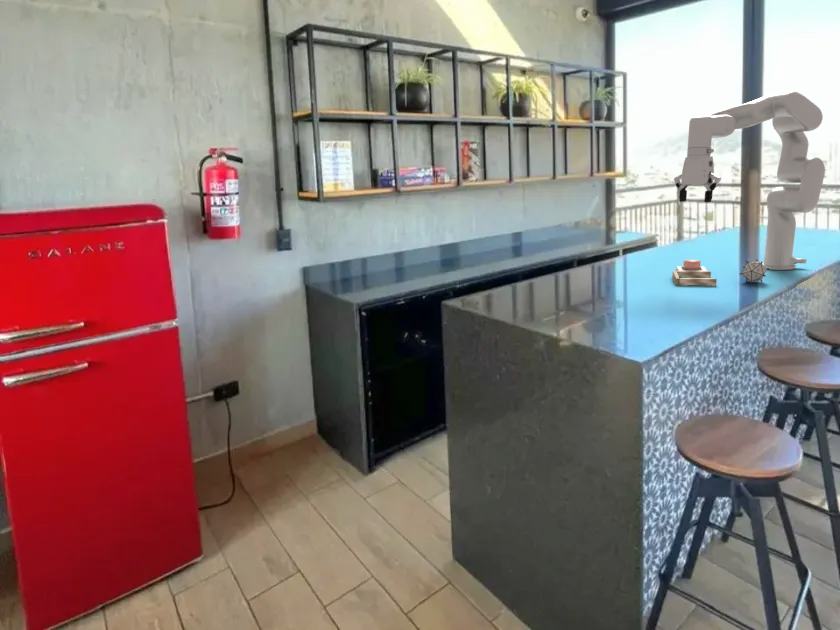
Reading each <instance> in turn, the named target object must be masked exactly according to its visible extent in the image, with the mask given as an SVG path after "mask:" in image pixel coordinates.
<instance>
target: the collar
mask: <svg viewBox="0 0 840 630" xmlns="http://www.w3.org/2000/svg"><path fill="white" fill-rule="evenodd" d="M675 268H676V269H675V271H708V270H707V268H706V267H705V266H704V265H702V266H701V265H700V270H684V269H683V265H681V266H680V265H677V266H675Z"/></svg>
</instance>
